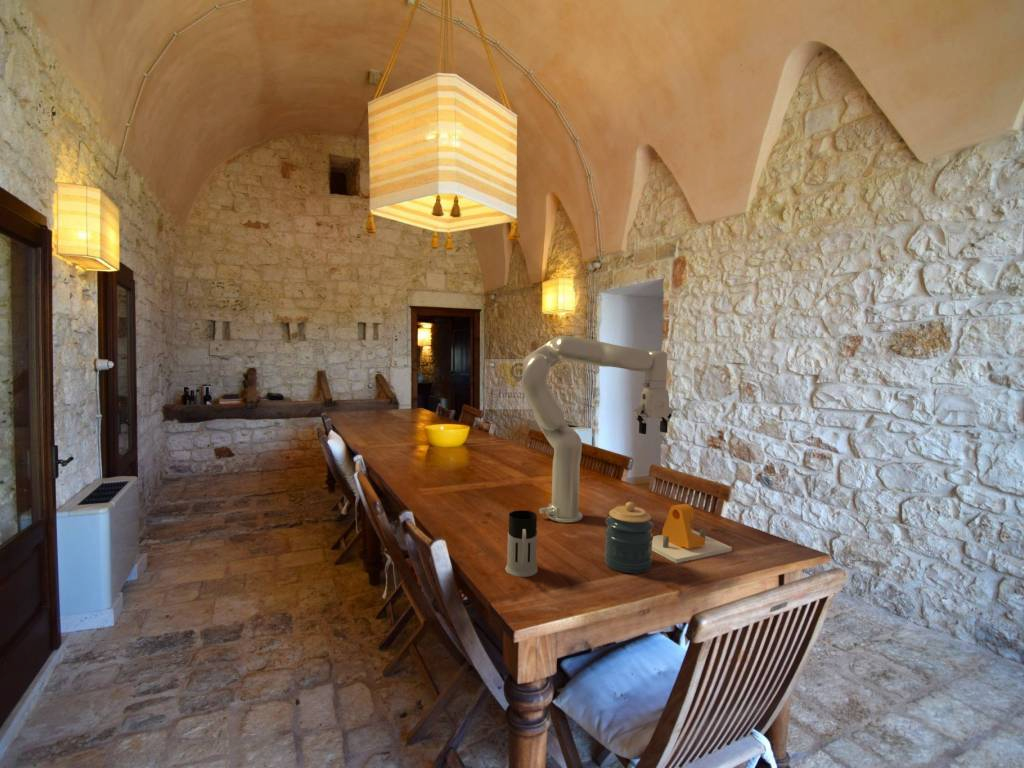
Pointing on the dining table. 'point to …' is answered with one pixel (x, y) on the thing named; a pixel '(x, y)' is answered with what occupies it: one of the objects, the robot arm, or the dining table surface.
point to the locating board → (684, 554)
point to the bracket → (681, 527)
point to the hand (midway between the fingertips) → (653, 432)
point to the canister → (629, 539)
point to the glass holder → (522, 543)
